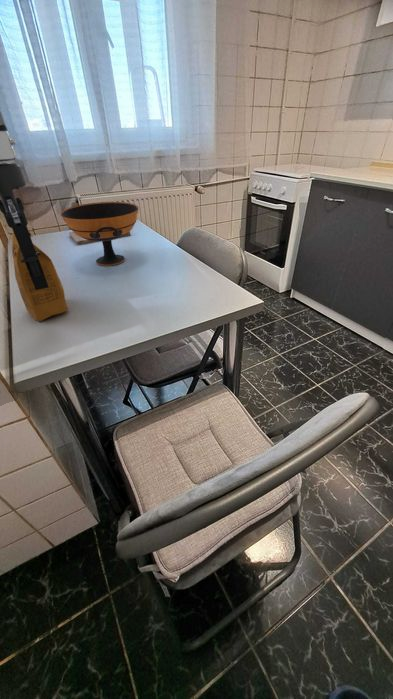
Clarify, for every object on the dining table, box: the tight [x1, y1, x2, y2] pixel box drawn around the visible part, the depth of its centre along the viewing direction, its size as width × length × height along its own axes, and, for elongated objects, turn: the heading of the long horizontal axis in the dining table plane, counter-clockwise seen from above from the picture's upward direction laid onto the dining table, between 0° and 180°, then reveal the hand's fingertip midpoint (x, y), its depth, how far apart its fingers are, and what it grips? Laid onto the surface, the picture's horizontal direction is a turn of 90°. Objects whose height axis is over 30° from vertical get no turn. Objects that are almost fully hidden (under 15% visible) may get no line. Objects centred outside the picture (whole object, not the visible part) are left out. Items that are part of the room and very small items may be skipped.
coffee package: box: [11, 231, 69, 322], centre depth 74 cm, size 10×12×22 cm
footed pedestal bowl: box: [59, 201, 140, 267], centre depth 104 cm, size 36×26×18 cm
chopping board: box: [68, 231, 131, 246], centre depth 136 cm, size 24×16×2 cm, turn 121°
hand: (41, 287), depth 65 cm, fingers closed
